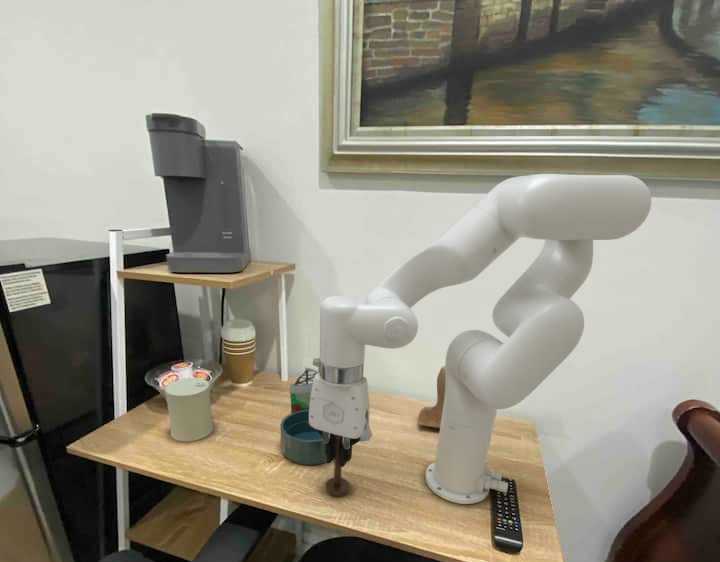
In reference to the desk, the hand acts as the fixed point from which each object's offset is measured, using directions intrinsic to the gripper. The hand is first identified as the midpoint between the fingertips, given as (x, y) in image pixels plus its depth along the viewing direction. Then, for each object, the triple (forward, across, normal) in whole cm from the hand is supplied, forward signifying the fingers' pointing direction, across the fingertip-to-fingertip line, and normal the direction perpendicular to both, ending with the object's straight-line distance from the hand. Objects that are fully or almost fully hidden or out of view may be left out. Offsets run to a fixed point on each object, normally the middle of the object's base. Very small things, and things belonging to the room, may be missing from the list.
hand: (338, 460), depth 72 cm
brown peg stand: (+7, 0, 0) cm, 7 cm away
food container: (+7, -19, +24) cm, 31 cm away
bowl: (+7, -11, +10) cm, 16 cm away
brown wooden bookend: (+7, +15, +35) cm, 39 cm away
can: (+7, -39, +4) cm, 40 cm away
